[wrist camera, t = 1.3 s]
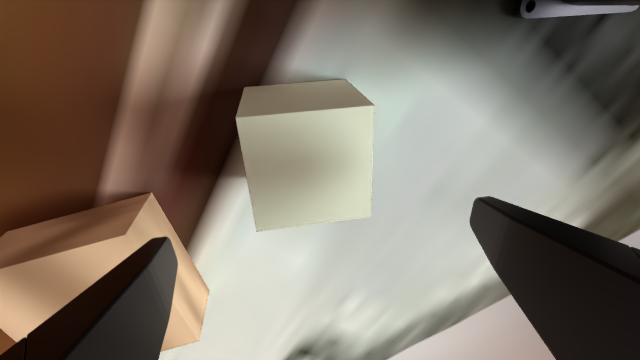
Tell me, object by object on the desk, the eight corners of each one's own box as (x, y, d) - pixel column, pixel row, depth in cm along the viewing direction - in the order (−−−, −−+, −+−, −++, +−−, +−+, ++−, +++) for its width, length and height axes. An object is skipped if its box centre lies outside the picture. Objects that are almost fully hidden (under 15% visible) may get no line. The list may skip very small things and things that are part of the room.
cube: (345, 78, 16) (374, 105, 12) (346, 167, 18) (370, 216, 14) (244, 86, 15) (235, 117, 11) (259, 177, 18) (256, 231, 13)
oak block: (153, 189, 17) (125, 234, 14) (210, 286, 21) (199, 340, 18) (11, 227, 17) (-53, 283, 14) (94, 319, 21) (61, 379, 18)
